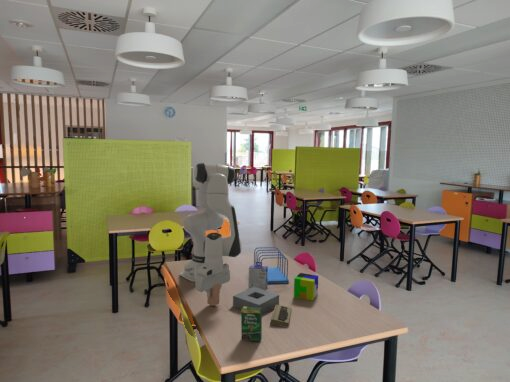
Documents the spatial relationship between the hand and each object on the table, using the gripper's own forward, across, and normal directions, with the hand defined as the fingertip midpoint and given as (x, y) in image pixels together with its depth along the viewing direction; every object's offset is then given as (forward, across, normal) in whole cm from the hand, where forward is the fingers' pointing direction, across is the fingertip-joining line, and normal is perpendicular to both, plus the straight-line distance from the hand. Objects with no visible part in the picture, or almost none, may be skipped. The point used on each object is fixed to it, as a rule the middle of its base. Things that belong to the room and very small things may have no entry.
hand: (213, 295), depth 173 cm
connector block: (+4, 0, 0) cm, 4 cm away
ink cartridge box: (+6, -32, +2) cm, 33 cm away
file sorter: (+6, -52, -5) cm, 53 cm away
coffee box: (+5, +13, +34) cm, 37 cm away
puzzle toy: (+6, -41, +27) cm, 50 cm away
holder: (+5, -14, +15) cm, 22 cm away
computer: (+6, -11, +32) cm, 35 cm away
